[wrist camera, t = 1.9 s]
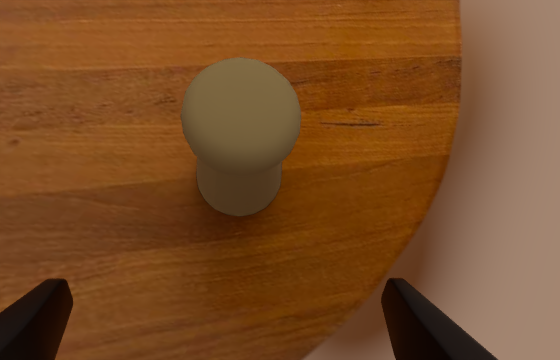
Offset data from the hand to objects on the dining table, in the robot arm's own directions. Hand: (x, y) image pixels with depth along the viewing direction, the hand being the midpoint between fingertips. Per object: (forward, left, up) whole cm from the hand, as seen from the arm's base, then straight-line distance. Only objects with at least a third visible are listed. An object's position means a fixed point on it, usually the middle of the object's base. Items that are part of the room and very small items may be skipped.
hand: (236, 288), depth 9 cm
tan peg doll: (+7, +1, -13) cm, 15 cm away
